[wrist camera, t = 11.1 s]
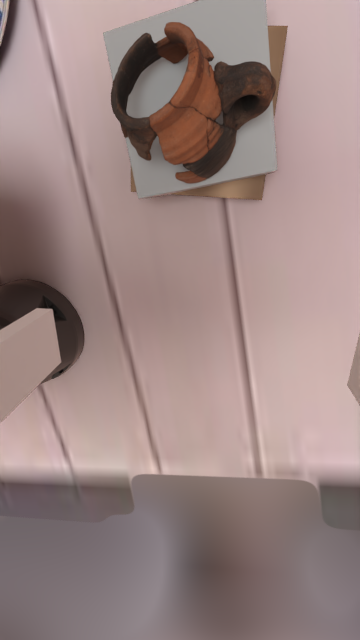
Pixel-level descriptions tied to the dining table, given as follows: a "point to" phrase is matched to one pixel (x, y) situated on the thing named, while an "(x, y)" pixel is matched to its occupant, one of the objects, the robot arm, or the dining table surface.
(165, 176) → the top slab
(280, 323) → the dining table surface
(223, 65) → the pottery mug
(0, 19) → the ceramic plate
